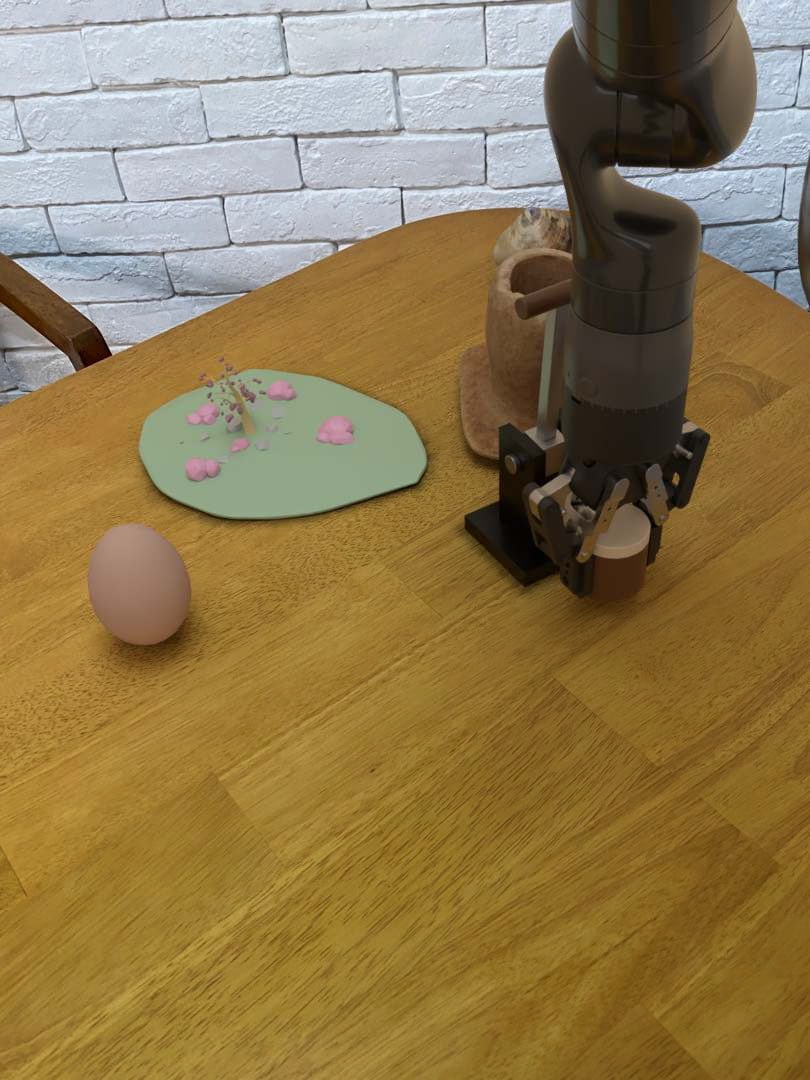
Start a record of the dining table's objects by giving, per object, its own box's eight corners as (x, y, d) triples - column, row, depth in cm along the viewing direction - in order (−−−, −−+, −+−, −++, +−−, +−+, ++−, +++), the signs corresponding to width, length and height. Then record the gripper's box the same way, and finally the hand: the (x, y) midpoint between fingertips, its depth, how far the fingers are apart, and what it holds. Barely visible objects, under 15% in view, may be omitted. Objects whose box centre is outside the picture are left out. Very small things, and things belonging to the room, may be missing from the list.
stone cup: (607, 470, 92) (619, 306, 82) (460, 474, 92) (455, 312, 82) (589, 368, 103) (598, 213, 93) (459, 372, 104) (454, 219, 94)
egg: (111, 605, 83) (78, 503, 77) (203, 595, 83) (178, 493, 77) (100, 674, 78) (64, 570, 72) (199, 663, 78) (171, 559, 72)
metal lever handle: (610, 280, 71) (587, 262, 73) (532, 309, 69) (510, 290, 71) (586, 459, 82) (566, 441, 84) (518, 489, 80) (499, 470, 82)
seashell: (495, 297, 114) (494, 223, 108) (492, 270, 118) (491, 197, 113) (590, 292, 113) (594, 217, 108) (584, 265, 117) (587, 192, 112)
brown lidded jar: (659, 583, 79) (666, 529, 76) (602, 612, 77) (607, 558, 74) (614, 544, 82) (618, 491, 79) (558, 570, 81) (560, 517, 77)
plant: (442, 379, 103) (438, 290, 97) (417, 526, 88) (411, 432, 82) (177, 375, 106) (158, 289, 100) (109, 517, 91) (81, 425, 85)
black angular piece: (622, 540, 85) (631, 435, 79) (524, 587, 82) (526, 481, 75) (558, 486, 90) (562, 383, 84) (464, 528, 87) (460, 424, 81)
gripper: (675, 308, 73) (653, 509, 84) (492, 380, 68) (494, 584, 79) (759, 358, 68) (723, 565, 80) (568, 440, 63) (558, 648, 74)
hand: (609, 573), depth 79 cm, fingers closed on brown lidded jar, 5 cm apart
